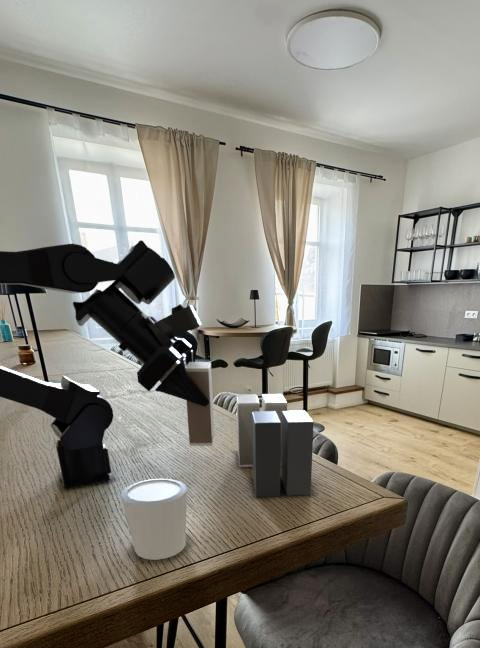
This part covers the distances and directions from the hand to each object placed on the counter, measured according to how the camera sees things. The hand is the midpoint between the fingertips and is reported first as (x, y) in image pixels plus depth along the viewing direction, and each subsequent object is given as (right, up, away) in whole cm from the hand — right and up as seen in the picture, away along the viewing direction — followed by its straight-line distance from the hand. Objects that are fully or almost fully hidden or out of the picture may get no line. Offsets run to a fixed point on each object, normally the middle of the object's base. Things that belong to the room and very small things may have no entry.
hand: (209, 399), depth 66 cm
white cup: (-2, -20, -19) cm, 28 cm away
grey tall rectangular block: (+6, -10, +7) cm, 13 cm away
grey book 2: (+14, -14, -3) cm, 20 cm away
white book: (+10, -9, +8) cm, 16 cm away
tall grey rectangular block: (+9, -14, -4) cm, 17 cm away
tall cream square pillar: (-1, -6, +2) cm, 7 cm away
